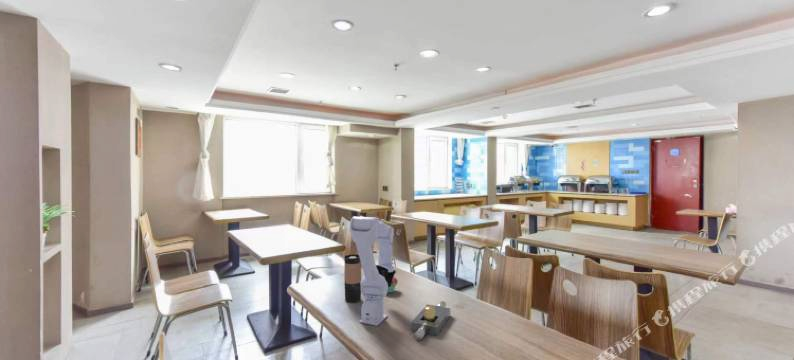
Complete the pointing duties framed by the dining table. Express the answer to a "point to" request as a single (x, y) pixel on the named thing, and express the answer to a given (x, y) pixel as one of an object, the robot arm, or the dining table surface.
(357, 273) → the travel mug
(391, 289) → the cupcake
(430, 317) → the cylinder
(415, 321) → the junction block
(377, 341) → the dining table surface
